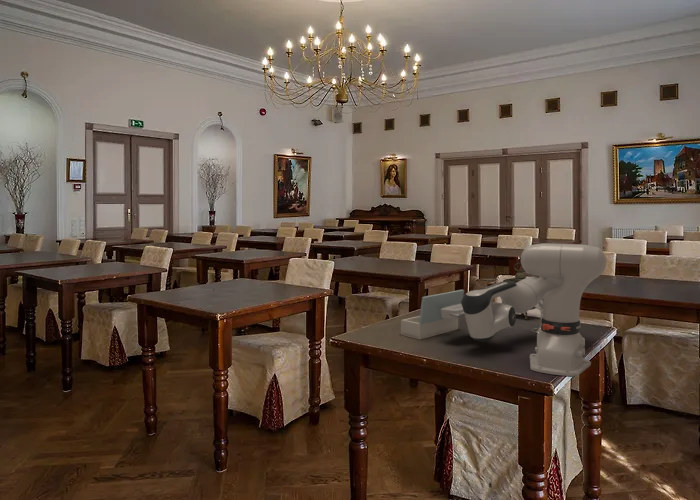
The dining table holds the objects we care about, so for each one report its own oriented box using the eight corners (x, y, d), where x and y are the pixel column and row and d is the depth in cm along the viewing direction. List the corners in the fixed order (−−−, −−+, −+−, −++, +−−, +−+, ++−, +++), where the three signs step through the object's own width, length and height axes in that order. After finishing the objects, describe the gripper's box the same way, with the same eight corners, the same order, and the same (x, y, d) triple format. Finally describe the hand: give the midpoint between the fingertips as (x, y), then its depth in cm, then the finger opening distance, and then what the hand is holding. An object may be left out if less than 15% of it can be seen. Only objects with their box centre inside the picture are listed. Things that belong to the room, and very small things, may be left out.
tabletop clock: (500, 315, 247) (501, 262, 244) (513, 313, 252) (514, 260, 250) (527, 321, 235) (528, 264, 233) (539, 318, 240) (541, 263, 238)
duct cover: (459, 314, 221) (461, 314, 220) (419, 323, 205) (421, 324, 204) (462, 289, 219) (464, 290, 218) (422, 297, 203) (424, 297, 202)
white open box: (458, 329, 221) (458, 314, 221) (419, 339, 206) (419, 324, 205) (439, 325, 229) (439, 311, 228) (400, 334, 213) (400, 319, 212)
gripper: (459, 324, 194) (429, 319, 204) (491, 315, 207) (461, 311, 218) (458, 307, 193) (429, 303, 204) (490, 299, 207) (461, 296, 217)
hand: (446, 307), depth 211 cm, fingers closed
